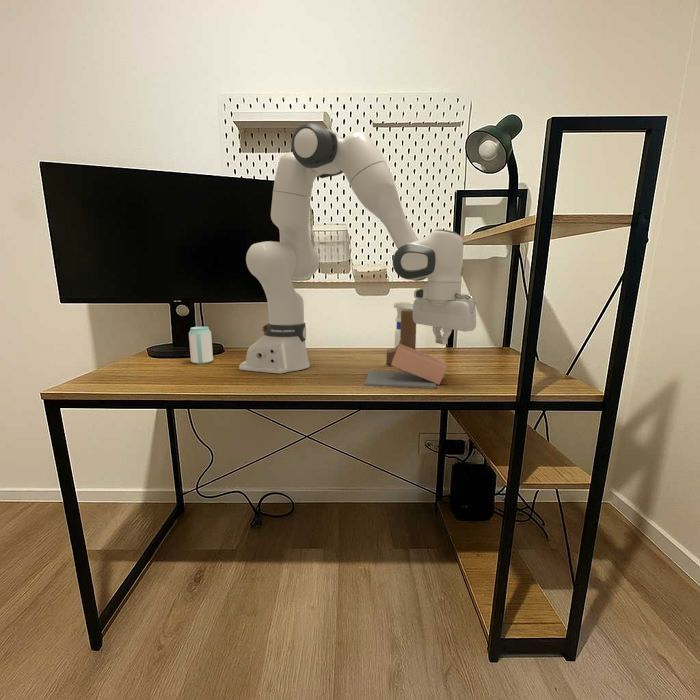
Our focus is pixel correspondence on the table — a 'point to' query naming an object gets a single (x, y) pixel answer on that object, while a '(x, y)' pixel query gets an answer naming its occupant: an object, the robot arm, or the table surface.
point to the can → (200, 345)
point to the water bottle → (400, 307)
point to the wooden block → (405, 334)
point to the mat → (397, 380)
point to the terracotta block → (419, 364)
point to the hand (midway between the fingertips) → (441, 343)
